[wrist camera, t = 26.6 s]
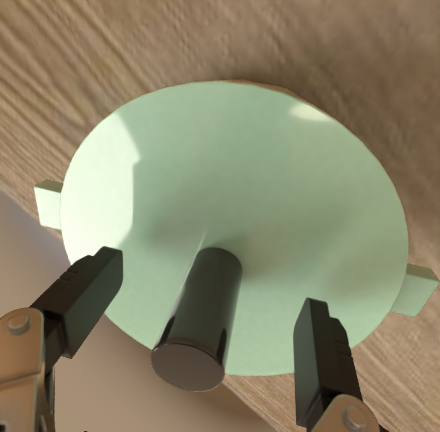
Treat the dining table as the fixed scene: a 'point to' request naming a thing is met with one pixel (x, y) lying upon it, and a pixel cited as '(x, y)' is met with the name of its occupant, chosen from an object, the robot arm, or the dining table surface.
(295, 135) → the pot lid
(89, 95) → the dining table surface
